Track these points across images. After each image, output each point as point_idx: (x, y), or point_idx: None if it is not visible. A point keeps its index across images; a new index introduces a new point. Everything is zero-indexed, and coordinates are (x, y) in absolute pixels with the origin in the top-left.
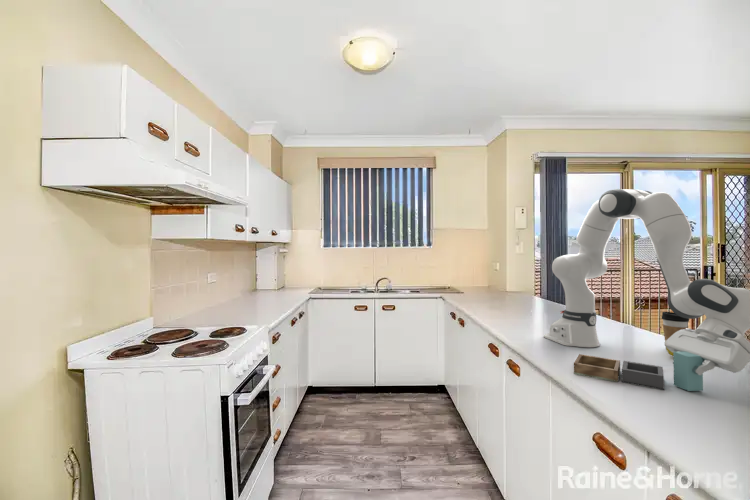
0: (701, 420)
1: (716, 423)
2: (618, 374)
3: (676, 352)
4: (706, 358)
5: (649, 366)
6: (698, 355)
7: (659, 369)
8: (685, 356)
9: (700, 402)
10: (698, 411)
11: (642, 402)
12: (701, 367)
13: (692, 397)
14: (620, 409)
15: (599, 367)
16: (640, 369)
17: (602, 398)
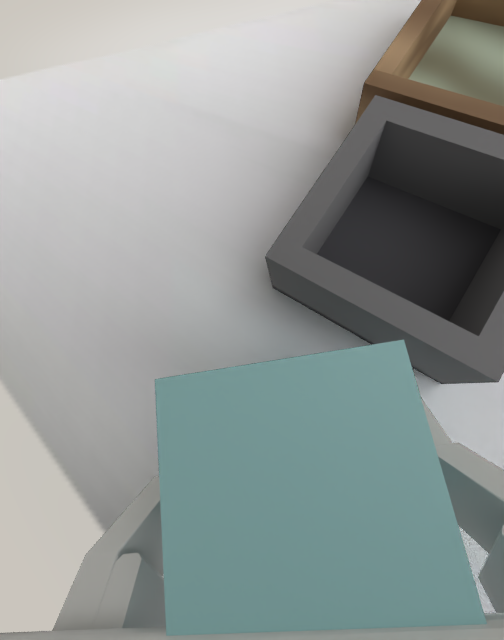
0: (27, 247)
1: (6, 277)
2: None
3: (367, 364)
4: (73, 632)
5: (498, 294)
6: (205, 637)
7: (411, 312)
8: (195, 374)
9: (143, 351)
10: (78, 283)
11: (154, 148)
12: (152, 481)
13: (191, 358)
14: (114, 75)
15: (411, 20)
16: (497, 262)
17: (187, 52)
